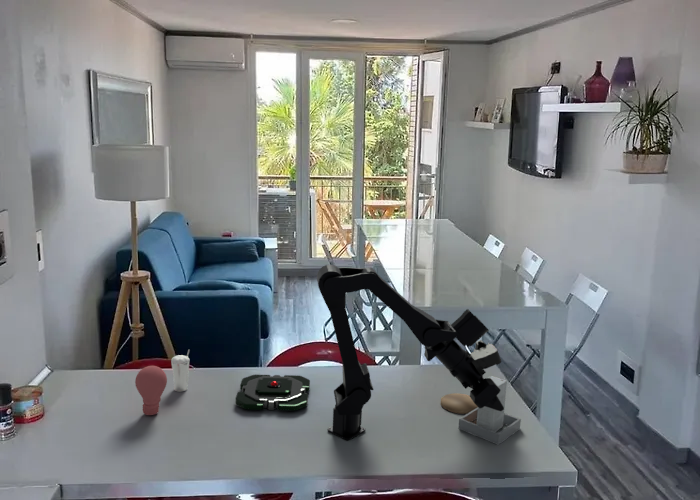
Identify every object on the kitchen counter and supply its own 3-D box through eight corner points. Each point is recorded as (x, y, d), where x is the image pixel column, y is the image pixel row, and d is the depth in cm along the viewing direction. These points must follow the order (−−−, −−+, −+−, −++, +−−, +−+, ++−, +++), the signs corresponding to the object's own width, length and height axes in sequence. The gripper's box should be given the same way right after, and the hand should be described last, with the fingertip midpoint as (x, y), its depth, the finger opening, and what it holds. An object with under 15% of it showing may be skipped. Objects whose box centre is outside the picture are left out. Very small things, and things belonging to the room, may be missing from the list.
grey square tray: (498, 444, 142) (499, 434, 142) (458, 428, 149) (459, 418, 149) (519, 428, 150) (520, 419, 150) (481, 413, 157) (481, 404, 156)
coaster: (466, 418, 155) (467, 415, 154) (432, 404, 161) (433, 401, 161) (487, 405, 162) (487, 402, 162) (454, 392, 168) (454, 390, 168)
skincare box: (487, 421, 153) (491, 375, 151) (503, 427, 151) (507, 380, 148) (474, 430, 149) (479, 382, 146) (491, 436, 146) (495, 388, 144)
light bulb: (173, 414, 151) (172, 367, 148) (146, 424, 146) (144, 375, 143) (157, 404, 155) (156, 358, 153) (130, 413, 150) (129, 366, 148)
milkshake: (196, 387, 166) (195, 351, 163) (180, 394, 161) (179, 357, 159) (183, 383, 168) (183, 347, 166) (168, 389, 163) (167, 353, 161)
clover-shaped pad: (310, 384, 171) (310, 368, 170) (307, 415, 154) (308, 398, 153) (243, 382, 171) (243, 366, 170) (233, 413, 153) (233, 396, 152)
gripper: (495, 350, 135) (539, 397, 139) (469, 322, 153) (508, 364, 157) (456, 385, 136) (501, 431, 140) (435, 352, 154) (475, 394, 158)
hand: (497, 402), depth 148 cm, fingers closed on skincare box, 7 cm apart
